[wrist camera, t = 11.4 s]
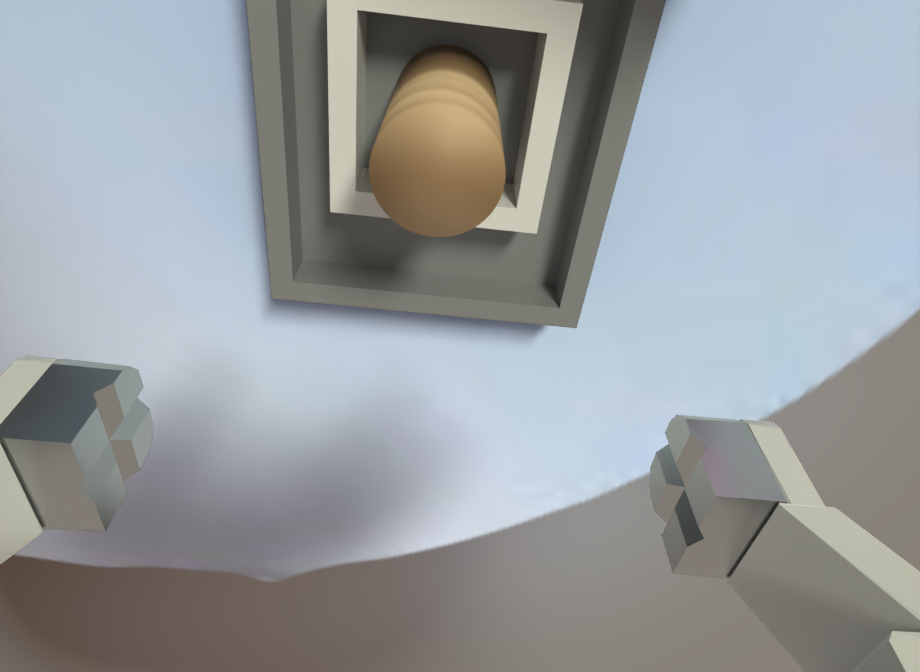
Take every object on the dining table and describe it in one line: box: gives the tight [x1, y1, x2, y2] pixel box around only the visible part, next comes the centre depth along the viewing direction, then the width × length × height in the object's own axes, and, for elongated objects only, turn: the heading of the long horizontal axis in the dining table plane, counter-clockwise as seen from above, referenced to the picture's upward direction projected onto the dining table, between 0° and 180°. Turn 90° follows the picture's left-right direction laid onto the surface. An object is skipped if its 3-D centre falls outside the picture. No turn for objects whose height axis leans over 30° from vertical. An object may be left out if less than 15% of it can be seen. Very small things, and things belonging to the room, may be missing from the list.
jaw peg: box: [369, 45, 506, 237], centre depth 21 cm, size 4×4×8 cm
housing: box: [246, 0, 666, 328], centre depth 24 cm, size 18×14×4 cm
